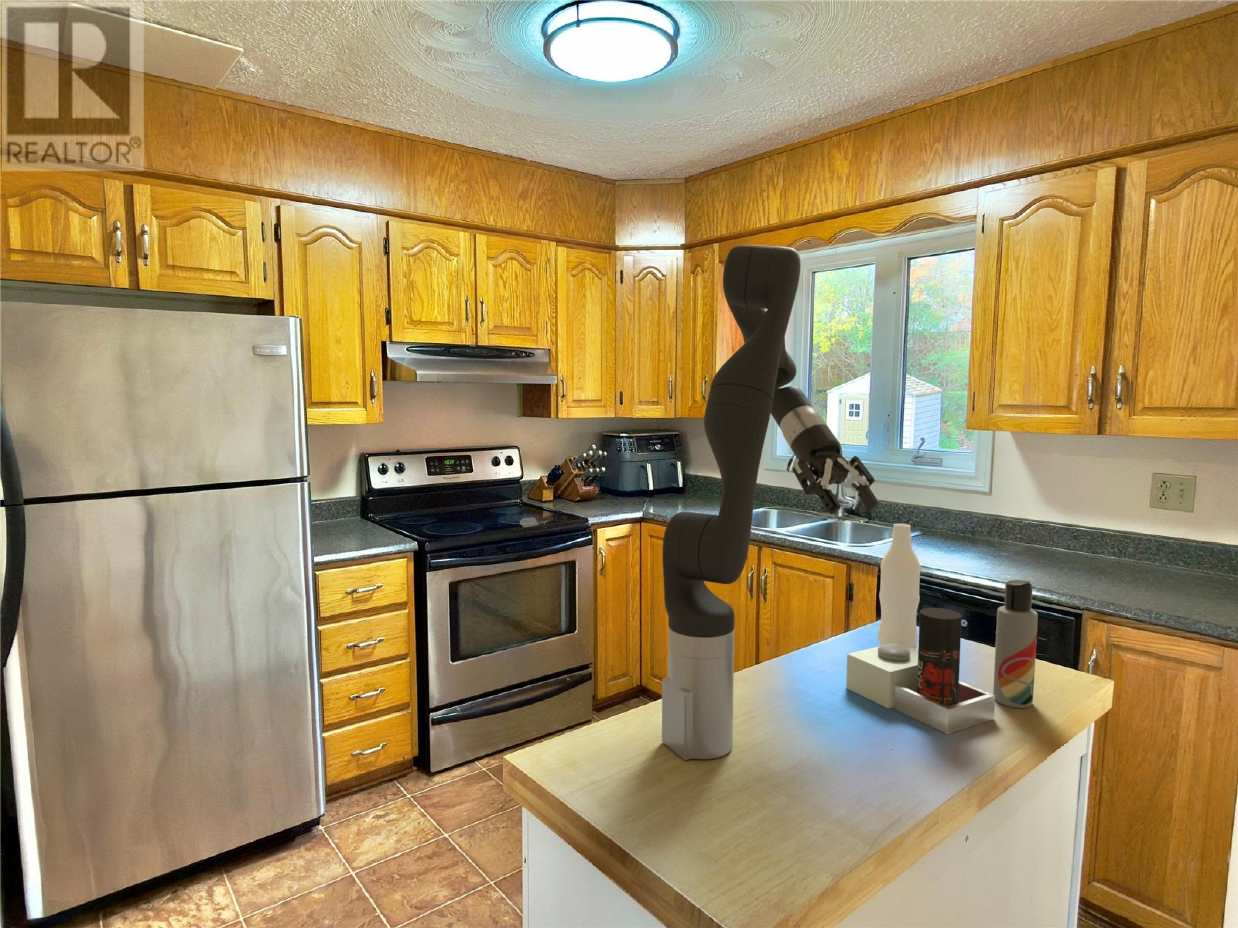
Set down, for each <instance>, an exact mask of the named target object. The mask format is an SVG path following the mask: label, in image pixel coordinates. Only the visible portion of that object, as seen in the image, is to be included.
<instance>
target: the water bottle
mask: <svg viewBox="0 0 1238 928" xmlns="http://www.w3.org/2000/svg"><path fill="white" fill-rule="evenodd" d="M892 528H893V530H892V531H893V532H892V534H891V537H892V541H891V544H890V546H889V548H888V550H887V551H886V553H885V555H884V556H883V558H882V560H881V563H880V587H879V588H880V589H879V594H878V595H879V597H878V598H879V603H880V612H881V613H880V615H881V616H880V623H879V628H878V630H877V641H878V643H879V646H883V645H888V644H892V643H896V642H898V643H900V644H903V645H906V646H908V647H911V648H914V649H916V650H917V649H918V648H917V647H918V645H919V633H918V628H917V613H918V607H919V604H920V601H921V600H920V599H921V598H920V597H921V596H920V584H921V583H920V580H921V578H920V577H921V572H922V570H921V568H922V567H921V564H920V561H919V559H918V557H917V554H916V553H915V550H914V549H913V547H912V544H911V539H912V538H913V537H912V533H911V530H912V529H911V525H910V524H907V523H894V524H893V527H892Z"/></svg>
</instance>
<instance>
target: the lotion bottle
mask: <svg viewBox="0 0 1238 928" xmlns="http://www.w3.org/2000/svg"><path fill="white" fill-rule="evenodd" d="M1004 587H1005V588H1004V605H1002V606H999V607H998V608H997V612H996V631H995V633H996V634H995V648H994V649H995V651H994V667H993V668H994V669H993V685H992V686H993V688H992V690H993V691H992V694H993V695H995V702H997V703H1000V704H1001V705H1004V706H1007V707H1011V708H1017V709H1026V708H1030V707H1031V706H1032V705H1033V701H1034V693H1035V692H1034V690H1035V676H1036V673H1035V672H1036V670H1035V669H1036V654H1037V636H1038V618H1039V615H1038V612H1037V611H1035V610H1034V609H1032V602H1033V589H1034V588H1033V585H1032V583H1031V581H1029V580H1021V579H1012V580H1008V581H1007V582H1005V584H1004Z"/></svg>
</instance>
